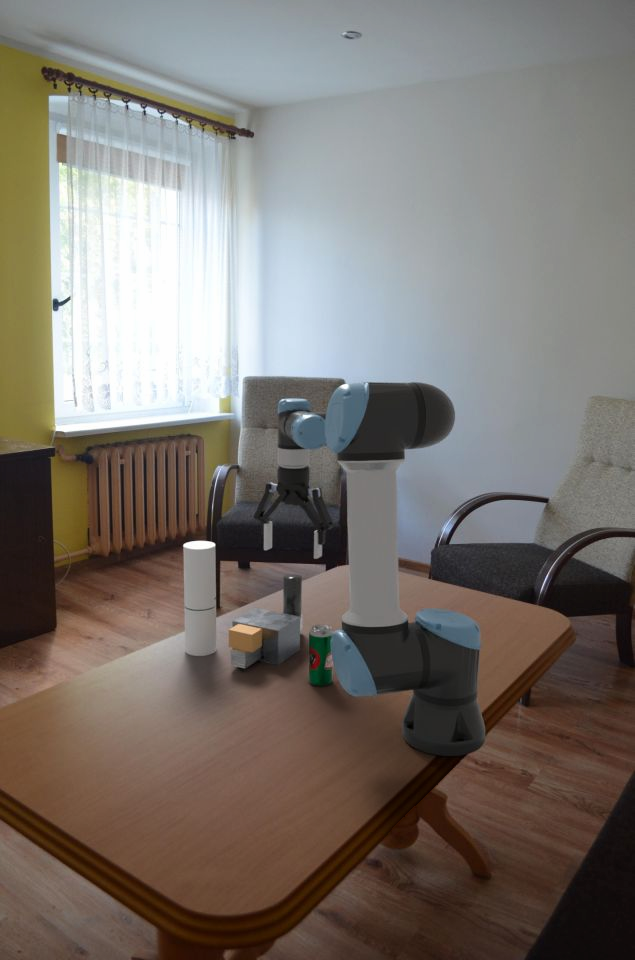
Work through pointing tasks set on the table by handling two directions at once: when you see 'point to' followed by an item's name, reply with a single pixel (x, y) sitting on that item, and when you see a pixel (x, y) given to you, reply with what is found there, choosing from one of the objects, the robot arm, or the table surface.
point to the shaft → (290, 606)
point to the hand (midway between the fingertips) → (292, 553)
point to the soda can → (320, 655)
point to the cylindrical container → (200, 597)
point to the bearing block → (274, 633)
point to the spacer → (245, 637)
